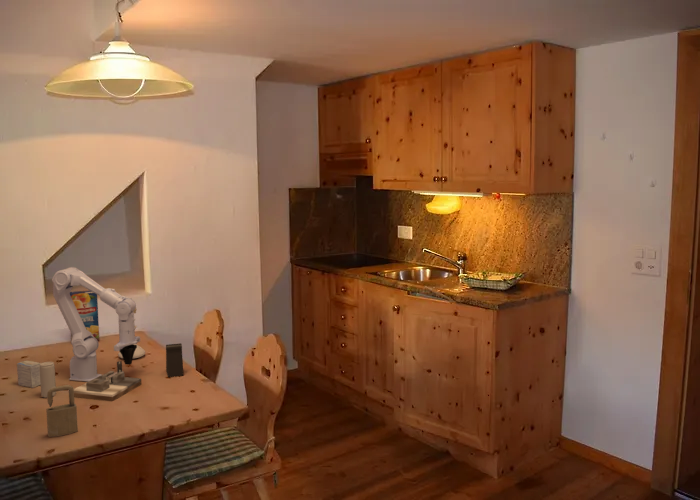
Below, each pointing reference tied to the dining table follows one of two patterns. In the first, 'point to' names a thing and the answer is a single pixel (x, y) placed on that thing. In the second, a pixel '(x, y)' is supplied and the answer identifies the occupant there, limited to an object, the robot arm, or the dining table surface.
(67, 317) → the robot arm
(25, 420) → the dining table surface
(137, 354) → the flower in vase
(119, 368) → the bolt
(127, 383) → the door and jamb
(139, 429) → the dining table surface
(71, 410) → the padlock
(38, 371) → the grey upright block
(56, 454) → the dining table surface
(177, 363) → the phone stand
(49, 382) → the beige cylinder
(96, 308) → the juice carton
